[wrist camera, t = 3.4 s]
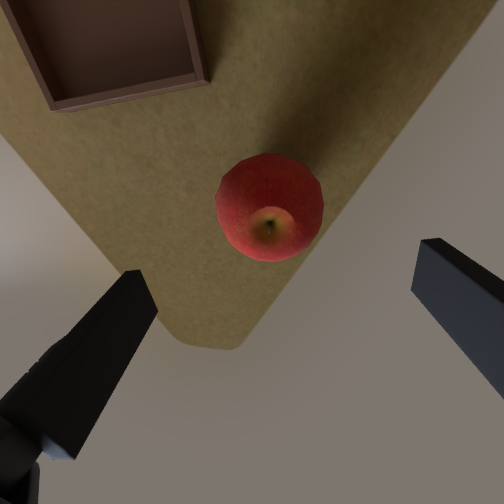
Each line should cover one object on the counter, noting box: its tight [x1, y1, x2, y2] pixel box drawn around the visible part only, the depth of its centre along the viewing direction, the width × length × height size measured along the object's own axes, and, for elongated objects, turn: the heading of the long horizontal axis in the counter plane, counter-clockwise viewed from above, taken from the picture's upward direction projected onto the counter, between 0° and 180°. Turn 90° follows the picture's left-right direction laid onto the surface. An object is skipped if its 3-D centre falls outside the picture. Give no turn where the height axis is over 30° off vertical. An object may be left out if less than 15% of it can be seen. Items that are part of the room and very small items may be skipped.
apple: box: [215, 153, 324, 262], centre depth 24 cm, size 10×10×14 cm
